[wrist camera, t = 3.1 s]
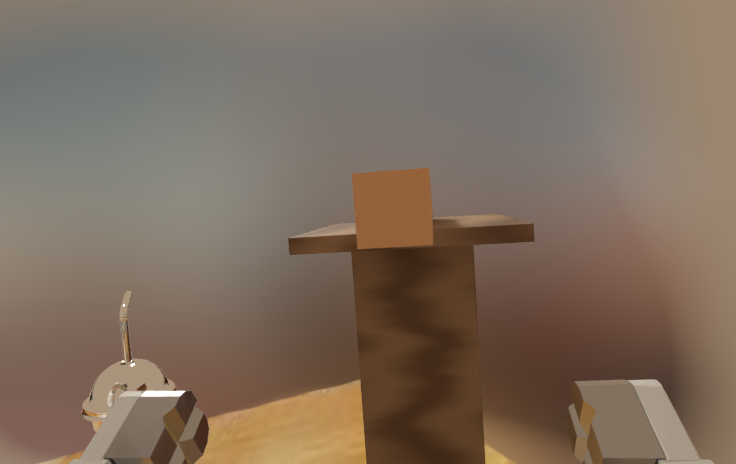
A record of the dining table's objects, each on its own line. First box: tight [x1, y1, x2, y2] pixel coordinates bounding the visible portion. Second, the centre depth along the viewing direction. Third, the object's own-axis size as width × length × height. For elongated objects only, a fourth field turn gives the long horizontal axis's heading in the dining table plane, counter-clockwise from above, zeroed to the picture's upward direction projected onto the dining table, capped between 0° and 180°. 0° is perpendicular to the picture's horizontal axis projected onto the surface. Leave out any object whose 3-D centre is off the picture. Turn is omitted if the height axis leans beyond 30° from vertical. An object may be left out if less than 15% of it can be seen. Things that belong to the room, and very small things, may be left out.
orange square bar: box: [352, 168, 433, 249], centre depth 28 cm, size 3×20×3 cm, turn 172°
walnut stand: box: [288, 214, 534, 464], centre depth 35 cm, size 14×14×26 cm
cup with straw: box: [81, 291, 177, 432], centre depth 47 cm, size 8×9×20 cm
